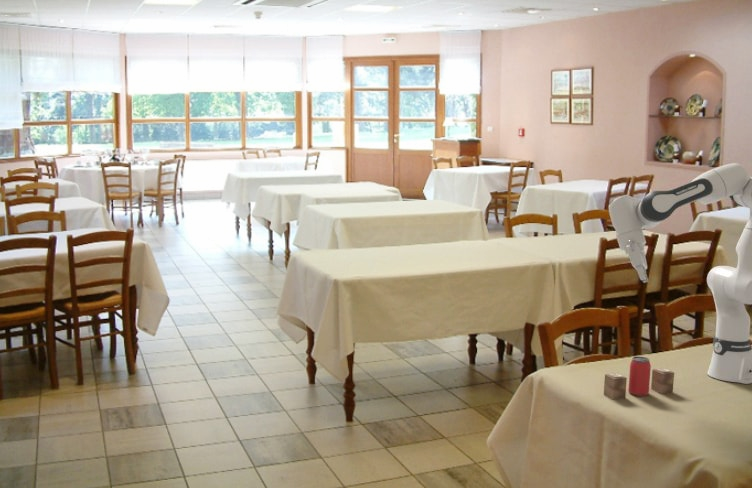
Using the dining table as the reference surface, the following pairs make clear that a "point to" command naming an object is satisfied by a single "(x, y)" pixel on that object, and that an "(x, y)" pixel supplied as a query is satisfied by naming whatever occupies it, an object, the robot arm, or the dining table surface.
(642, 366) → the beer can
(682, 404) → the dining table surface
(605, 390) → the walnut block
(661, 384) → the walnut block
